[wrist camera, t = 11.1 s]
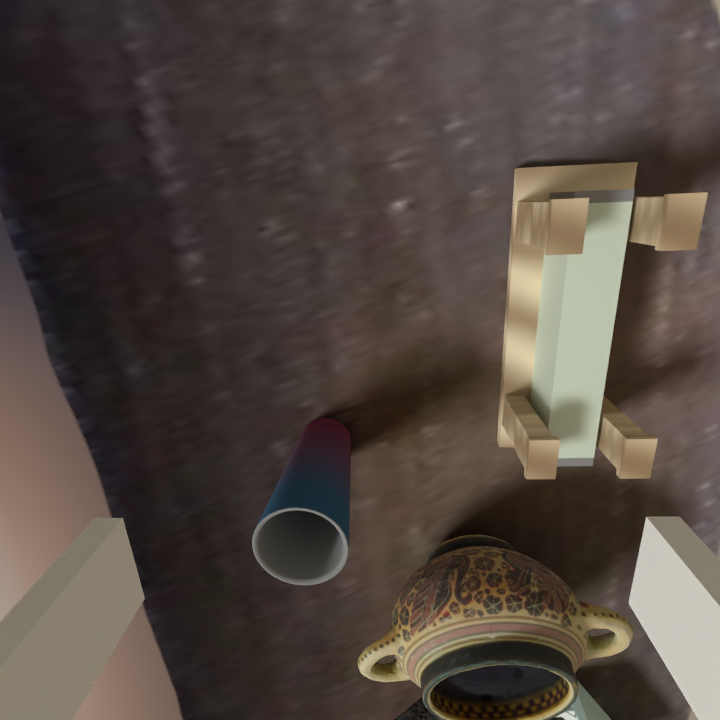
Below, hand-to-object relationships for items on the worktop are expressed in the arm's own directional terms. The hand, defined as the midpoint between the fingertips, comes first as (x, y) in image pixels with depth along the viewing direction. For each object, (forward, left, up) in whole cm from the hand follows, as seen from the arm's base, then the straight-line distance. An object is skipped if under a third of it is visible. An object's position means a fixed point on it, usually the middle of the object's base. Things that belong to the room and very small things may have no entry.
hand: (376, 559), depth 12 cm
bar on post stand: (+2, +15, -31) cm, 34 cm away
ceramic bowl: (+30, +9, -31) cm, 44 cm away
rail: (+2, +16, -30) cm, 34 cm away
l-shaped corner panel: (+54, +20, -31) cm, 66 cm away
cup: (+14, -6, -31) cm, 34 cm away
